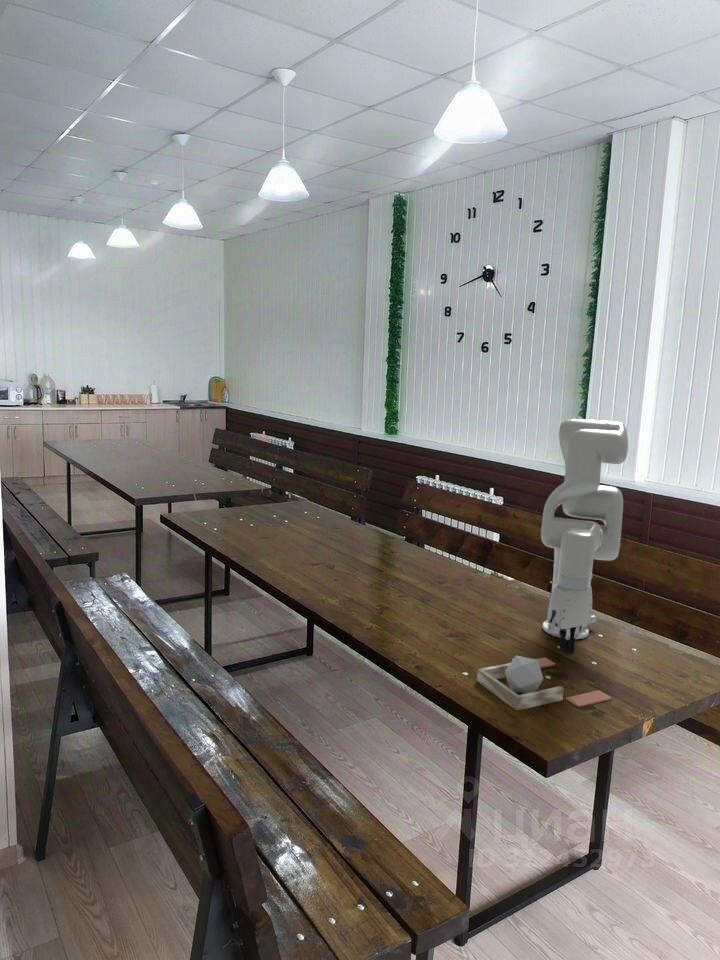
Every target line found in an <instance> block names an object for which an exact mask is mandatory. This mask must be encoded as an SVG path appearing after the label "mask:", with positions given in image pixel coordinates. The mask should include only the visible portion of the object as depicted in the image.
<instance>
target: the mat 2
mask: <svg viewBox="0 0 720 960" xmlns="http://www.w3.org/2000/svg"><path fill="white" fill-rule="evenodd" d="M612 699H613V698H612V697H611V696H610V695H608V694H606V693H605V692H603V691H602V690H600V689H598V690H594V691H589V692H585V693H581V694H576V695H572V696H569V697H568V696H567V697H565V700H566V701H568V702H569V703H571V704H572V705H574V706H576V707H577V708H582V707H586V706H591V705H594V704H598V703H604V702H607V701H611V700H612Z"/></svg>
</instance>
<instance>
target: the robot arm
mask: <svg viewBox="0 0 720 960" xmlns="http://www.w3.org/2000/svg"><path fill="white" fill-rule="evenodd" d="M558 437H559V438H558V441H559V445H560V449H561V454H562V458H563V460H564V467H565V469H564V470H565V471H564V480H563V481H564V482H563V483H561V484H559V486H557V487H556V488H555V489H554V490H552V492H551V493H550V495H549V496H548V498H547V500H546V501H545V504H544V507H543V513H542V520H541V529H540V538H541V542H542V544H543V545H544V546H546V547H547V548H550V549H551V548H552V549H554V550H553V551H554V553H553V554H554V555H553V556H554V557H553V558H554V559H553V560H554V561H553V572H552V573H553V574H552V576H553V577H552V585H551V595H550V597H549V603H548V609H547V613H546V614H547V616H546V620H545V621H543V623H542V629H543V631H544V633H547V634H549V635H550V636H553V637H556V638H560V639H559V640H560V641H559V651H561V652H562V653H564V654H566V655H567V656H570V655H573V654H574V653H575V645H576V640H581V639H585V638H587V637H588V636H589V635H590V633H589V632H590V630H589V628H588V624H590V623H591V624H592V623H595V622H597V617H596V615H594V614H593V615H592V611H593V589H592V585H591V583H592V579H593V577H594V575H593V566H594V565H593V564H594V560H599V561H614V560H615V559H617V558H618V556H619V553H620V547H621V538H622V527H623V526H622V524H623V512H624V496H623V493H622V491H621V489H619V488H618V487H615V486H612V485H611V486H610V485H602V484H601V473H602V471H601V469H602V464H612V465H622V464H623V463H624V462H625V461H626V458H627V456H628V453H629V451H628V450H629V438H628V431H627V428H626V426H625V424H624V423H622V422H621V421H612V420H601V419H600V420H598V419H586V418H585V419H584V418H571V419H566V420H564V421H562V422H561V423H560V426H559V430H558ZM561 505H562V510H563V513H564V514H565V515H566V516H569V517H572V518H567V517H566V518H565V517H555V512H556V510H557V508H559V506H561ZM573 517H574V518H573ZM575 518H580V519H575ZM583 519H588V520H583ZM591 520H592V521H591ZM593 520H598V521H599V520H600V521H601V522H603V524H604V525H603V524H599V523H597V522H595V521H593Z"/></svg>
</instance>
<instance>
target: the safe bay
mask: <svg viewBox="0 0 720 960" xmlns="http://www.w3.org/2000/svg"><path fill="white" fill-rule="evenodd" d="M510 663H511V662H508V663H503V664H497V665H492V666H488V667H482V668H478V669H477V675H476V676H477V677H476V682H478V683H479V684H480V685H481V686H483V687H484V688H485V689H487V690H488V691H490V693H492V694H494V695H495V696H497V698H499V699H500V700H502V701H503V702H504V703H506V704H507V705H508V706H510V707H511V708H513V709H514V710H515V711H517V712H518V711H521V710H526V709H530V708H534V707H539V706H542V705H543V706H544V705H547V704H553V703H555V702H561V701H563V700H564V689H565V688H564V687H563V686H562V685H558V686H555V687H550V688H545V689H541V690H536V691H535V692H531V693H526V694H519V693H517V692H514V691H512V690H511V689H510V688H509V687H508V686H507V685H506V684H504V683H502V682H501V681H499V680H500V679H505V678H506V675H505V671H506V669H507V668H508V666H509V665H510ZM506 679H507V678H506Z"/></svg>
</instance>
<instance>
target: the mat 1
mask: <svg viewBox="0 0 720 960" xmlns="http://www.w3.org/2000/svg"><path fill="white" fill-rule="evenodd" d="M534 659H535V660H538V662H539V666H540V669H543V668H548V667H552V666H553V667H554V666H556V663H555V662H553V661H552V660H551V659H549V658H547V657H545V656H544V657H540V658H534Z"/></svg>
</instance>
